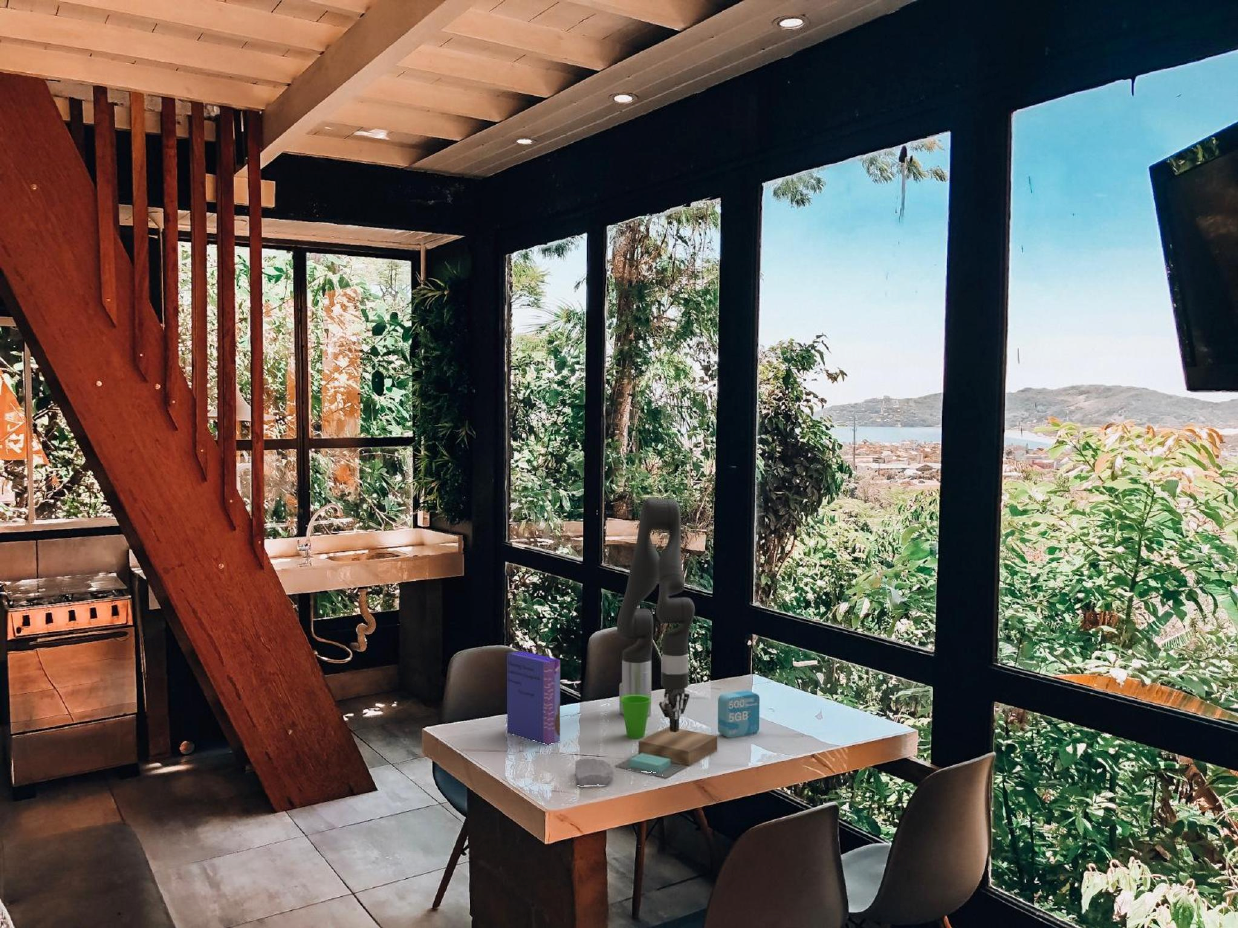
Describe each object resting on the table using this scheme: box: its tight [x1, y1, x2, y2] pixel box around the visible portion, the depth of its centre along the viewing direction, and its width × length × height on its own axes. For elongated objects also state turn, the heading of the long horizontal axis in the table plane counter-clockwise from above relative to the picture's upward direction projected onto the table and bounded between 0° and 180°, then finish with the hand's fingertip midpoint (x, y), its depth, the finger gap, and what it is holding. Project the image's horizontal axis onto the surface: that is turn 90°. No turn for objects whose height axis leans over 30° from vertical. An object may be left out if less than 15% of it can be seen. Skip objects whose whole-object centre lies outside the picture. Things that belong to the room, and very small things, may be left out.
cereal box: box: [506, 650, 561, 746], centre depth 288 cm, size 17×5×24 cm, turn 48°
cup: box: [620, 695, 652, 739], centre depth 290 cm, size 9×9×11 cm
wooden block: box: [637, 725, 718, 767], centre depth 275 cm, size 16×16×4 cm
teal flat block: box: [630, 753, 672, 773], centre depth 263 cm, size 9×6×2 cm, turn 57°
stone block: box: [575, 757, 614, 786], centre depth 254 cm, size 12×5×10 cm
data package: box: [717, 690, 761, 739], centre depth 293 cm, size 12×4×12 cm, turn 118°
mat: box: [614, 755, 687, 779], centre depth 263 cm, size 16×10×1 cm, turn 56°
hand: (674, 731), depth 274 cm, fingers closed
